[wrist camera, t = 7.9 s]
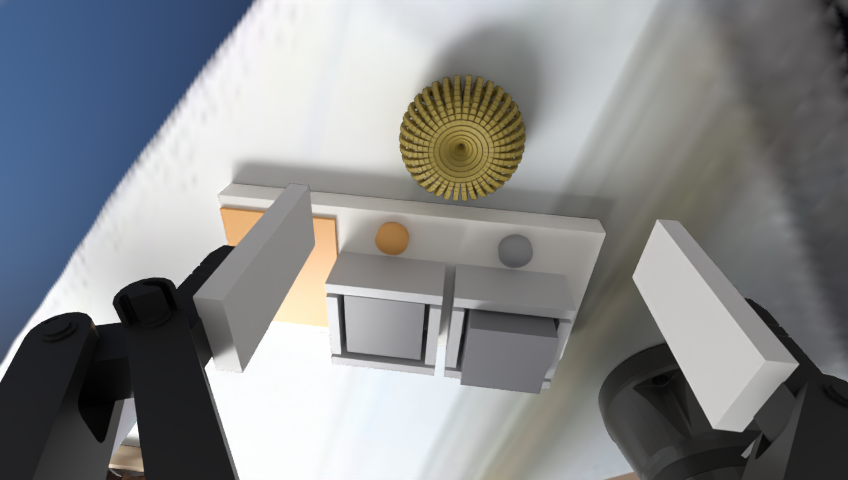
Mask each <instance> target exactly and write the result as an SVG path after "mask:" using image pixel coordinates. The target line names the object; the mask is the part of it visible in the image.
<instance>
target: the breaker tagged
mask: <svg viewBox="0 0 848 480" xmlns="http://www.w3.org/2000/svg"><path fill="white" fill-rule="evenodd" d="M344 304H345V321H346V338H347V351H348V352H356V353H365V354H374V355H382V356H391V357H399V358H408V359H416V360H420V358H421V350H422V342H423V335H424V327H425V315H426V304H425V303H416V302H407V301H398V300H389V299H380V298H371V297H362V296H353V295H344Z"/></svg>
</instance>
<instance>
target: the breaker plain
mask: <svg viewBox="0 0 848 480" xmlns="http://www.w3.org/2000/svg"><path fill="white" fill-rule="evenodd" d="M557 340H558V336H557V332H556V328H555V324H554V320H553V318H552V317H543V316H534V315H525V314H516V313H507V312H498V311H489V310H480V309H471V308H468V310H467V316H466V323H465V329H464V335H463V341H462V348H461V383H460V385H468V386H477V387H485V388H493V389H502V390H510V391H519V392H527V393H535V394H539V393H540V390H541V387H542V384H543V381H544V378H545V375H546V372H547V369H548V366H549V363H550V360H551V357H552V354H553V351H554V348H555V346H556V343H557Z"/></svg>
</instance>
